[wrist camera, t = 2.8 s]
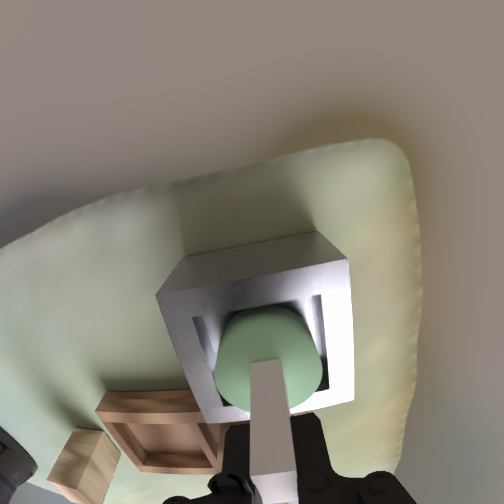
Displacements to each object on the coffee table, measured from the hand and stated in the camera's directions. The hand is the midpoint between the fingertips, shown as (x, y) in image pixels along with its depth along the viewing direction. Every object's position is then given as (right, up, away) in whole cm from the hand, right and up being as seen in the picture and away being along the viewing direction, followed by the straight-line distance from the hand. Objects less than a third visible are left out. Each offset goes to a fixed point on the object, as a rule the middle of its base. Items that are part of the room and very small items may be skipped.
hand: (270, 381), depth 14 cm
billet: (-21, -18, +14) cm, 32 cm away
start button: (0, +1, +3) cm, 3 cm away
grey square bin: (0, +2, +9) cm, 9 cm away
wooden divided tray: (-5, -11, +13) cm, 18 cm away
